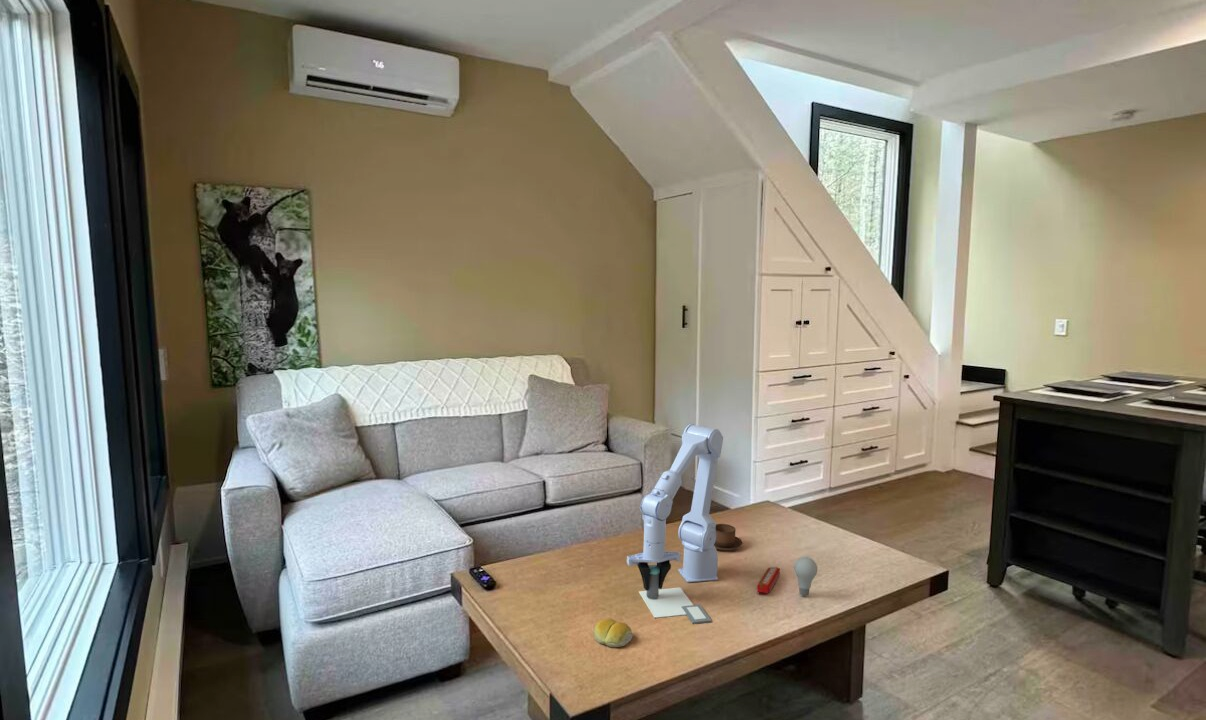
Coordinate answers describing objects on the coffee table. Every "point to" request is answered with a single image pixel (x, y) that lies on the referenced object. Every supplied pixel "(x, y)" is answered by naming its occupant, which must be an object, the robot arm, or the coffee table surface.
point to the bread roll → (612, 633)
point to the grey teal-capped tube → (653, 582)
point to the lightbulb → (805, 574)
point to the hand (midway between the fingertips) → (652, 587)
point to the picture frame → (696, 614)
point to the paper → (667, 602)
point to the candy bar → (768, 580)
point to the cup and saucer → (726, 538)
